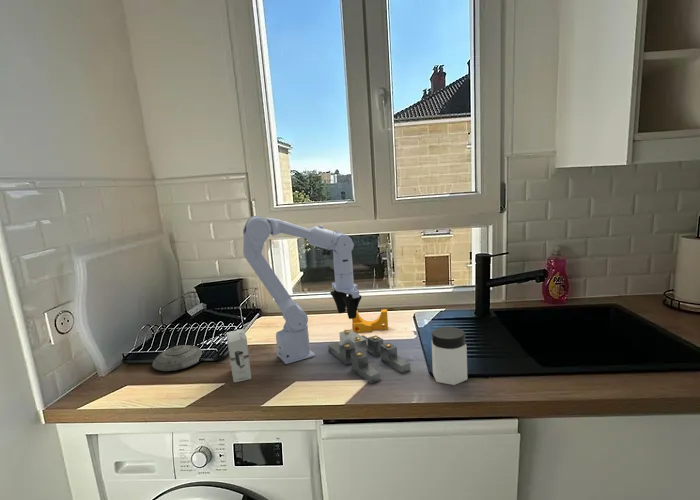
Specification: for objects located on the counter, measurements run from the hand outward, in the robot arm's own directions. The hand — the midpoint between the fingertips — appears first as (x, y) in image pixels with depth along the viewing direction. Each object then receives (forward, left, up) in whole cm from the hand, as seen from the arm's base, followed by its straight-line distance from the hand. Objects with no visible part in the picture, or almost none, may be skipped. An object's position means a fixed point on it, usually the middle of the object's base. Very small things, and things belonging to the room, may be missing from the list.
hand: (347, 315), depth 130 cm
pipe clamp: (+12, +7, -10) cm, 18 cm away
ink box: (-34, +1, -10) cm, 35 cm away
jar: (+11, -34, -10) cm, 37 cm away
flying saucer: (-48, +21, -10) cm, 53 cm away
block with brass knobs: (-1, -5, -10) cm, 11 cm away
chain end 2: (-1, -20, -10) cm, 22 cm away
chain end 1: (-1, -6, -10) cm, 12 cm away
